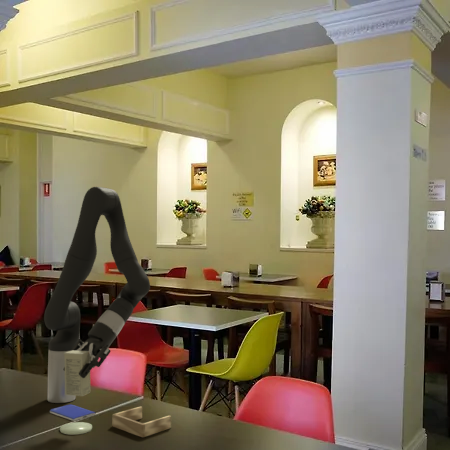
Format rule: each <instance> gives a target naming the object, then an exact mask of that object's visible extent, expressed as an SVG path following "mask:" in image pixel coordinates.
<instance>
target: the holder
mask: <svg viewBox="0 0 450 450" xmlns="http://www.w3.org/2000/svg"><path fill="white" fill-rule="evenodd" d="M141 419H143V406H141V405H140V406H137V407H134V408H129V409H126V410H123V411H119V412H116V413H113V414H112V419H111V421H112V423H111V425H112V427H113V428H116V429H117V430H118V429H119V430H122V431H124V432H127V433H129V434H131V435H135V436H137V437H141V438H145V437H149V436H152V435H155V434H157V433H160V432H163V431H165V430H169V429H171V427H172V416H171V415H165V416H163V417H160V418H159V417H158V418H156V419H153V420H150V421H147V422H141V421H138V420H141Z"/></svg>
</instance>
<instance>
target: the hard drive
mask: <svg viewBox="0 0 450 450" xmlns="http://www.w3.org/2000/svg"><path fill="white" fill-rule="evenodd" d="M49 413H50V414H52V415H55V416H57V417H60V418H64V419H66V420H70V421H72V422H77V421H80V420H83V419H86V418H89V417H93V416H96V411H92V410H89V409H86V408H83V407H80V406H78V405H74V404H66V405H63V406H58V407H55V408H51V409H50V410H49Z"/></svg>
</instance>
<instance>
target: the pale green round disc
mask: <svg viewBox="0 0 450 450" xmlns="http://www.w3.org/2000/svg"><path fill="white" fill-rule="evenodd" d="M92 430H93V424H91V423H89V422H83V421H80V422H79V421H73V422H70V423H65V424H63V425H61V426H60V428H59V431H60V433H62V434H64V435H69V436H76V435H83V434H88V433H90V432H91V431H92Z"/></svg>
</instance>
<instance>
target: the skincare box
mask: <svg viewBox="0 0 450 450" xmlns="http://www.w3.org/2000/svg"><path fill="white" fill-rule="evenodd" d="M88 353H89V351H76V350H72V351H69V352H66V353H65V395H74V396H75V397H77V396H78V397H84V396H86V395H89V394H90V393H91V371H90V372H89V373H88V375H87V376H86V377H85V378H82V377H81V376H80V375H79V372H80V371H81V369H82V368H83V367H84V365H85V364H86V363H87V361H88ZM87 364H88V363H87Z"/></svg>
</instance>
